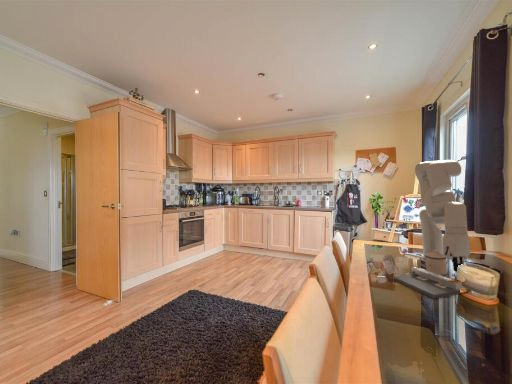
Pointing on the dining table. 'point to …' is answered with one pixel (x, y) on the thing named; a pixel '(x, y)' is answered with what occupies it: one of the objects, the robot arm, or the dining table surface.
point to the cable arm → (437, 277)
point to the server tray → (426, 285)
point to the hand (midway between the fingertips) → (458, 271)
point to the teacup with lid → (435, 262)
